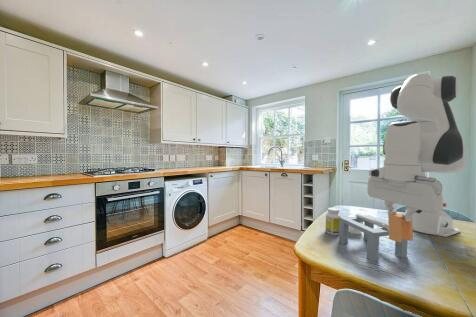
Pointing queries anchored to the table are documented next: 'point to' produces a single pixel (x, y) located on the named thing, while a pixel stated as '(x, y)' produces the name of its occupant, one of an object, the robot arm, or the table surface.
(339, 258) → the table surface
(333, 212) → the pill bottle
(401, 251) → the square frame with slider
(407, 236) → the tall tan box
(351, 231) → the shot glass
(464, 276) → the table surface
